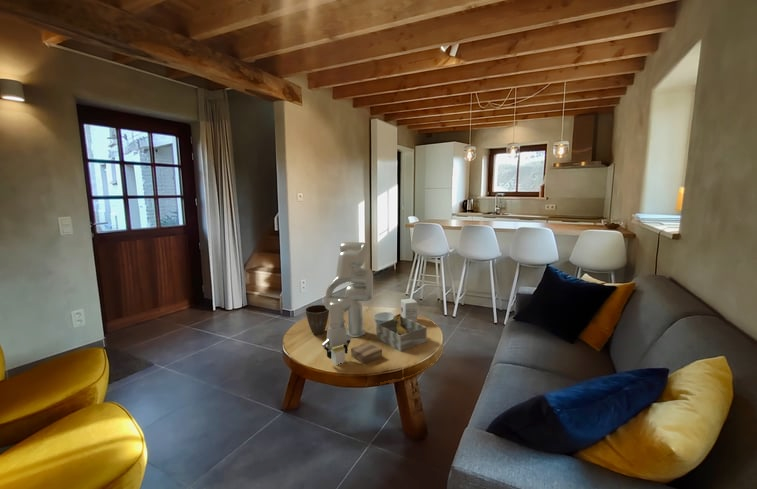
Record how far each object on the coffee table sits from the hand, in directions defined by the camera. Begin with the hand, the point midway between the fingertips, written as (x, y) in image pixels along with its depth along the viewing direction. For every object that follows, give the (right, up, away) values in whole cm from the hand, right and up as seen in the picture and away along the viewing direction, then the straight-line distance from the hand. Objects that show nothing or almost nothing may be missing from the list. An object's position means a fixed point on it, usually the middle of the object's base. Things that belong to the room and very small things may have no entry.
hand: (337, 355), depth 181 cm
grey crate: (+36, +1, +27) cm, 45 cm away
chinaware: (+26, +3, +46) cm, 53 cm away
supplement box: (+43, +5, +55) cm, 70 cm away
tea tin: (0, -4, +1) cm, 4 cm away
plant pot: (-17, +2, +39) cm, 43 cm away
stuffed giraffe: (+35, +1, +27) cm, 45 cm away
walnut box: (+15, -3, +6) cm, 17 cm away
